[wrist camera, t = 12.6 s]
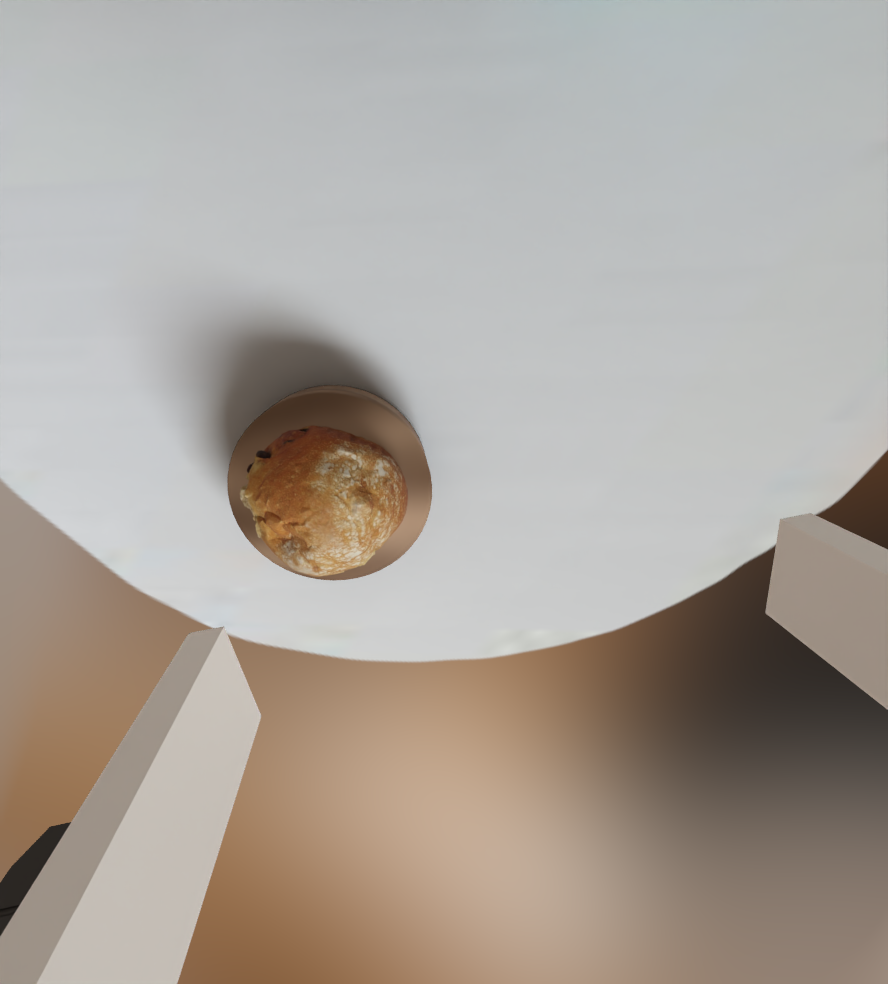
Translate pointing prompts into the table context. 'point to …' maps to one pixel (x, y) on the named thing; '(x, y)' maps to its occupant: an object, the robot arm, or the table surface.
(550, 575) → the table surface
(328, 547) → the bread roll
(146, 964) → the robot arm
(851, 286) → the table surface
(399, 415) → the walnut stand
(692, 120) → the table surface
